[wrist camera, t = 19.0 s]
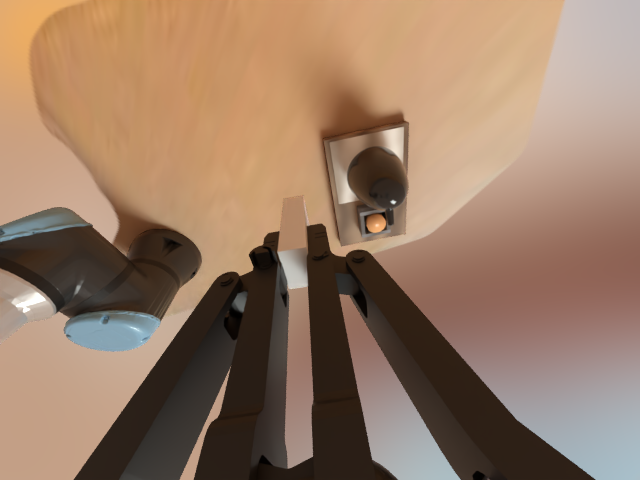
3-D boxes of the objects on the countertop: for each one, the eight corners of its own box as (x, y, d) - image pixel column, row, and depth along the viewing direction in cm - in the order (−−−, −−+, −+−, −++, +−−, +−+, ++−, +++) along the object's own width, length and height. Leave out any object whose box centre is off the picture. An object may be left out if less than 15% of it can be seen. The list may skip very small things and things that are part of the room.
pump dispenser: (346, 196, 51) (362, 235, 38) (340, 146, 45) (357, 172, 32) (393, 188, 50) (425, 224, 38) (394, 136, 44) (432, 159, 32)
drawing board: (339, 241, 60) (343, 254, 55) (322, 138, 46) (325, 144, 41) (402, 229, 59) (411, 241, 55) (404, 120, 45) (416, 125, 40)
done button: (364, 227, 54) (368, 234, 52) (363, 212, 52) (366, 218, 49) (382, 223, 54) (386, 230, 51) (381, 208, 52) (385, 214, 49)
